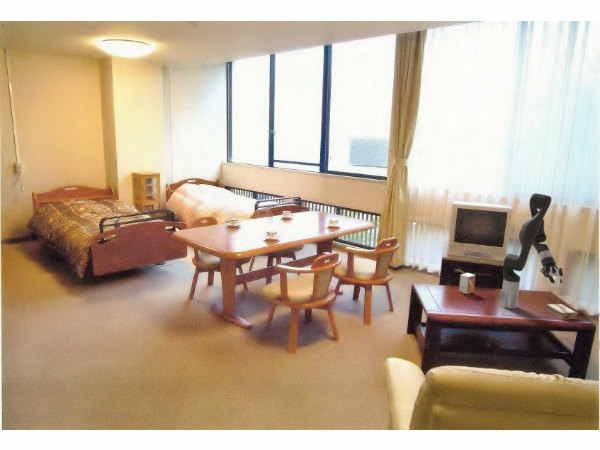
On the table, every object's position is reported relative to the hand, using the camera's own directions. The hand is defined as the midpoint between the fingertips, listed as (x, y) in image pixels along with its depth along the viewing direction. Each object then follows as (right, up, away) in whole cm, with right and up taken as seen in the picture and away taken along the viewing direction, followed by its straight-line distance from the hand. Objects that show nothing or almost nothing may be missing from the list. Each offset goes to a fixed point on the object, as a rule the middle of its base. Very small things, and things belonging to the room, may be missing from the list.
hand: (557, 282), depth 268 cm
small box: (-48, -10, +23) cm, 54 cm away
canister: (0, -4, +2) cm, 4 cm away
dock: (-5, -18, -11) cm, 22 cm away
